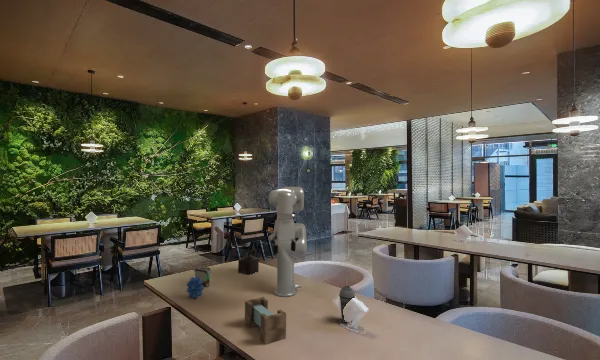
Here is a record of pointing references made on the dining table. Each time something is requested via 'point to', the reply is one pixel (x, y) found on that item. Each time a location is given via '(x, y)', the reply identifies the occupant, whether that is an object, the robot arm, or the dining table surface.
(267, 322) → the notched wooden uprights
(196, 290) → the grapes
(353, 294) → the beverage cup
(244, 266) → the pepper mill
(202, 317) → the dining table surface
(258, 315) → the rail
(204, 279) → the food container
